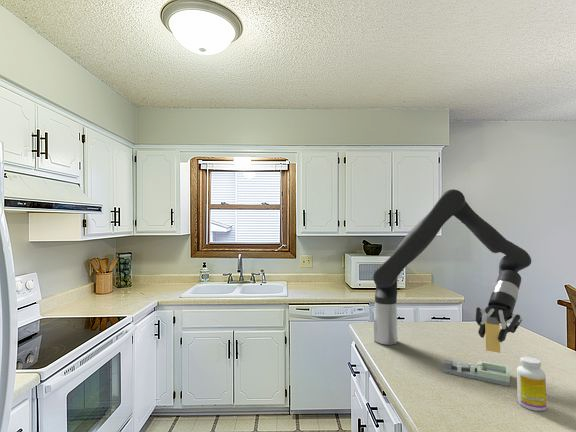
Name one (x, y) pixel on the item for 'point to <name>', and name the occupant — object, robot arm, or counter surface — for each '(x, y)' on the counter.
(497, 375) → the board
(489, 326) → the block
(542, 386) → the supplement bottle
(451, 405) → the counter surface
